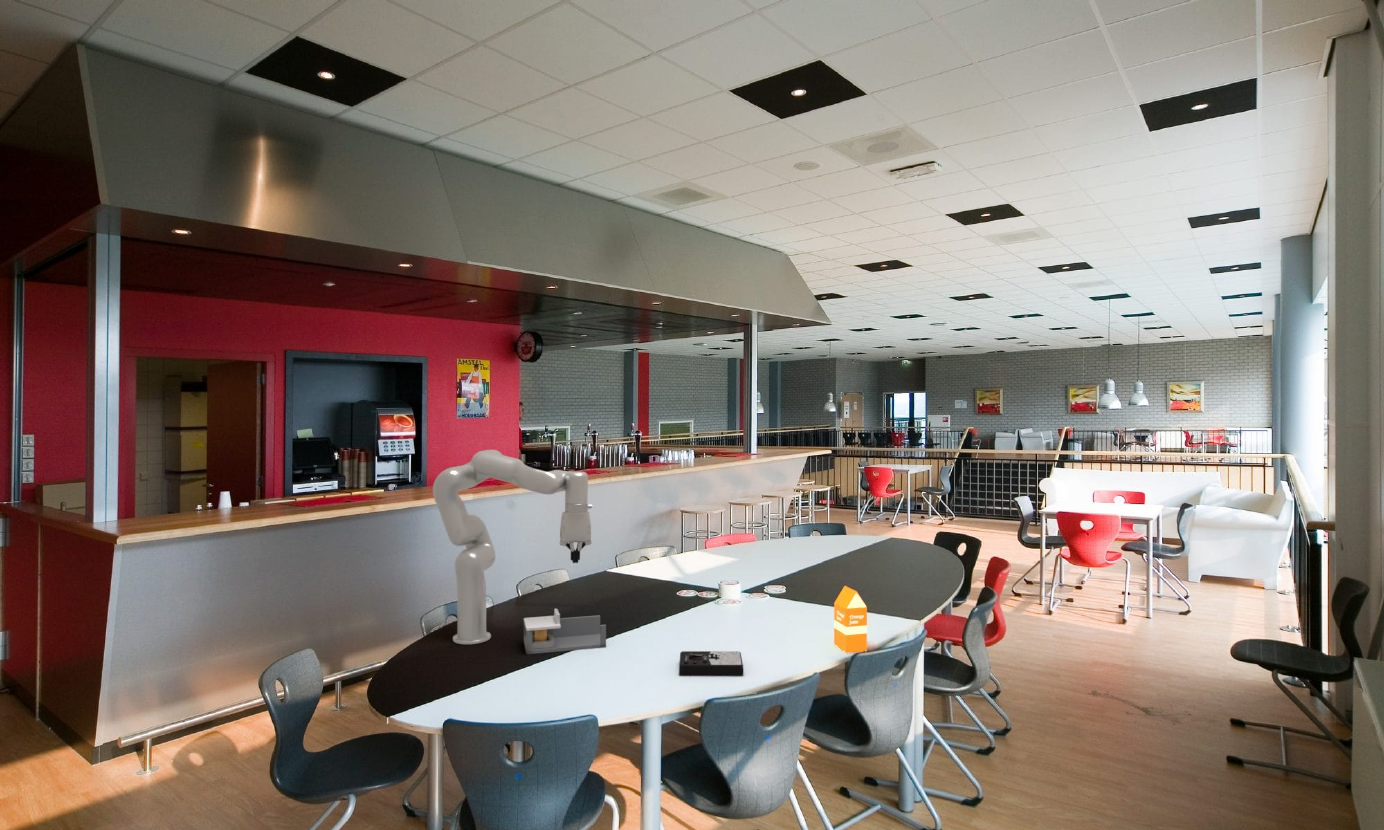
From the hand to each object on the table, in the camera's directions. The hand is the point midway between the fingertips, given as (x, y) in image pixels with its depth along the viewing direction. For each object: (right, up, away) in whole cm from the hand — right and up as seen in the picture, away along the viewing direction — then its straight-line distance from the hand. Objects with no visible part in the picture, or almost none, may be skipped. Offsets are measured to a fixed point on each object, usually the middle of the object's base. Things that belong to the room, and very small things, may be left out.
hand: (575, 562), depth 253 cm
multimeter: (+45, -29, -24) cm, 59 cm away
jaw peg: (-11, -27, -3) cm, 29 cm away
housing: (-3, -28, -1) cm, 28 cm away
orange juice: (+92, -28, -4) cm, 97 cm away
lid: (-11, -20, -3) cm, 23 cm away
